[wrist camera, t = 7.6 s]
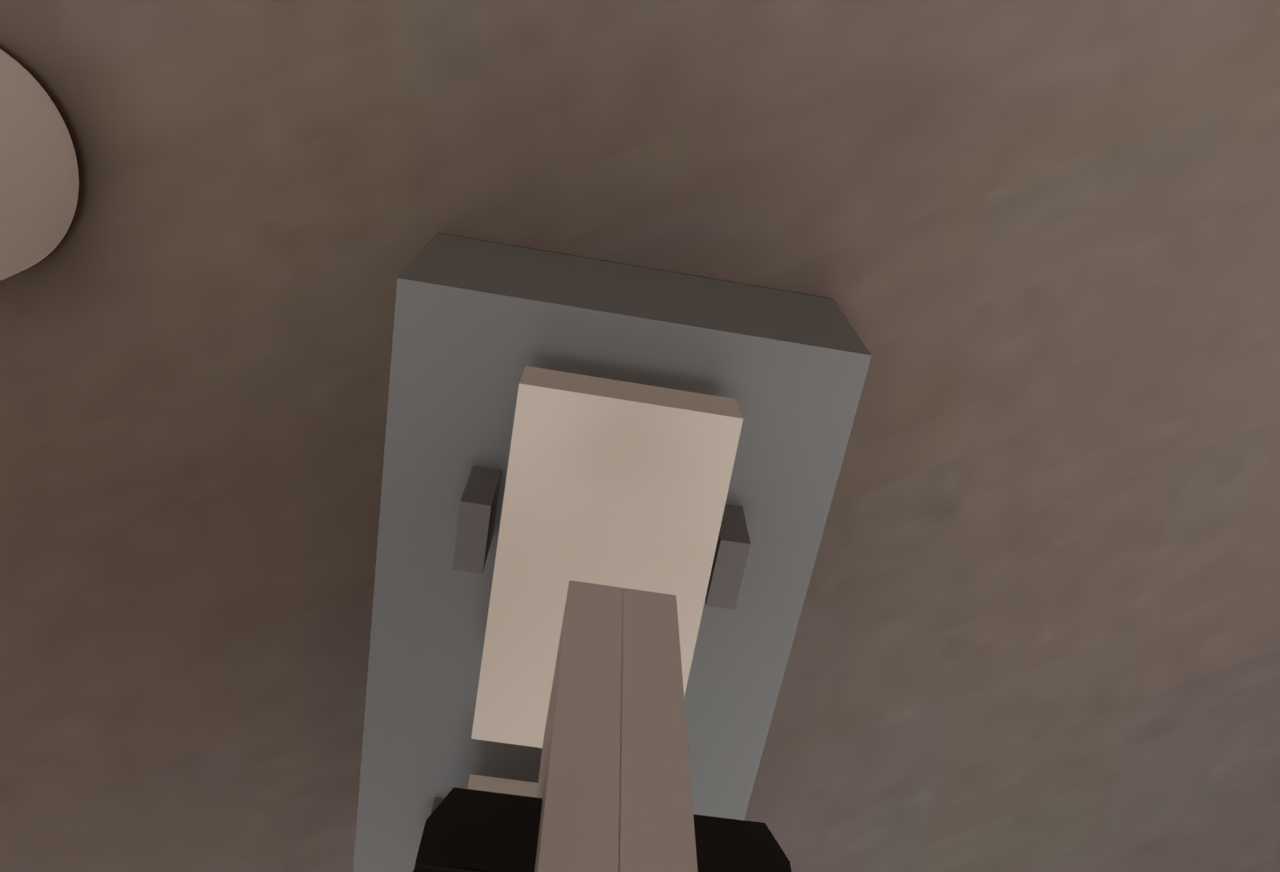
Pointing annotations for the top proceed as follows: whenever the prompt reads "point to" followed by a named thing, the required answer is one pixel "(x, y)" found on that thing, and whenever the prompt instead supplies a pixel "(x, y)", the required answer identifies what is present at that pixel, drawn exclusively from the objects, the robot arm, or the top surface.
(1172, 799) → the top surface
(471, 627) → the switch unit
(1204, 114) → the top surface
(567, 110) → the top surface
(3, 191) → the can
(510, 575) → the rocker
